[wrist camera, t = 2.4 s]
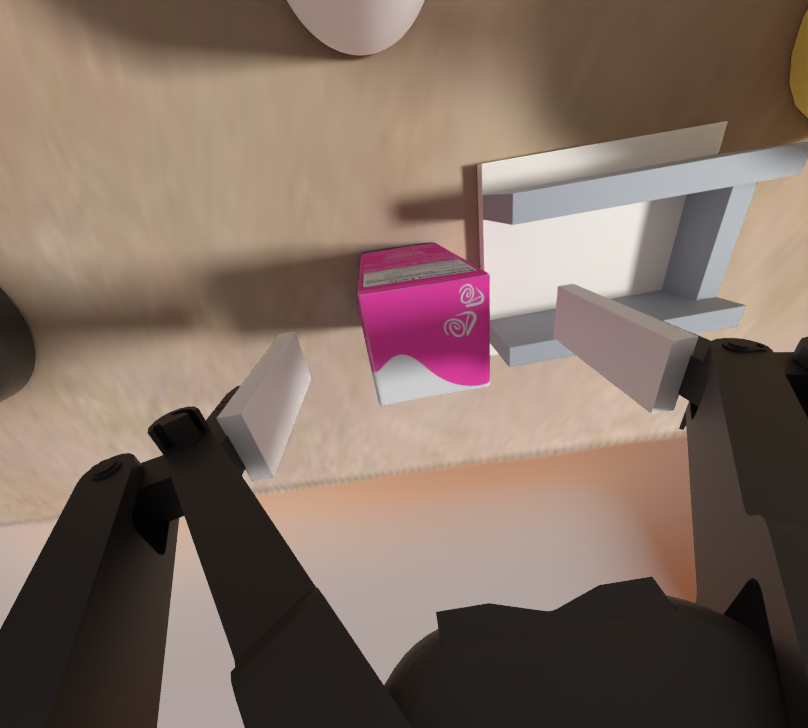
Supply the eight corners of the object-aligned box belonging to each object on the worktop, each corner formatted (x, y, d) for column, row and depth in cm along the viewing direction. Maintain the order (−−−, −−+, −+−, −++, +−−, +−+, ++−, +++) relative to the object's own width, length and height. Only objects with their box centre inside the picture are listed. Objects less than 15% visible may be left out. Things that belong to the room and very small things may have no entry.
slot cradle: (482, 351, 27) (509, 388, 22) (477, 165, 20) (513, 153, 15) (659, 319, 27) (728, 348, 22) (712, 124, 20) (831, 97, 15)
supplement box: (443, 314, 25) (491, 392, 15) (372, 325, 25) (372, 411, 15) (438, 239, 22) (493, 272, 12) (358, 251, 22) (347, 295, 12)
